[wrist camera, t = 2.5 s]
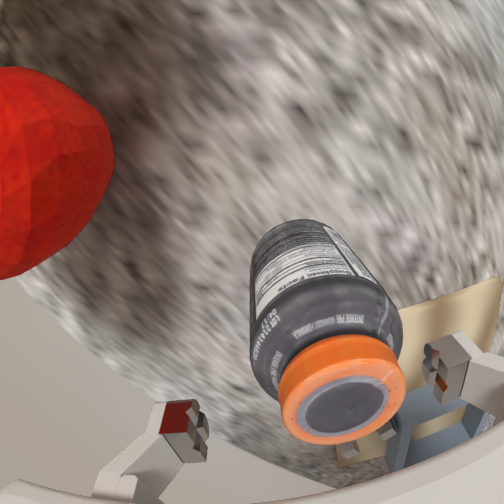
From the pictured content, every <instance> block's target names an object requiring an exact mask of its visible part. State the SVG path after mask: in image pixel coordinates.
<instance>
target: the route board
mask: <svg viewBox="0 0 504 504" xmlns="http://www.w3.org/2000/svg"><path fill="white" fill-rule="evenodd" d="M502 288H503V282H502V281H501V280H500V279H498V278H497V277H494V278H492V279H489V280H486V281H484V282H481V283H478V284H476V285H473V286H470V287H467V288H465V289H462V290H459V291H456V292H453V293H450V294H447V295H444V296H441V297H438V298H435V299H432V300H429V301H426V302H423V303H420V304H416V305H413V306H410V307H406V308H403V309H400V310H398V312H399V315H400V318H401V321H402V326H403V344H402V349H401V353H400V356H399V359H398V361H397V362H398V365H399V367H400V369H401V370H402V372H403V374H404V376H405V379H406V393H407V392H410V391H412V390H415V389H418V388H421V387H424V386H426V385H428V384H427V383H426V381H425V379H424V377H423V372H422V362H423V360H424V359H425V357H426V355H425V354H424V353H423V352H424V346H425V344H426V343H429V342H431V341H434V340H436V339H439V338H441V337H444V336H446V335H449V334H451V333H453V332H456V331H458V330H462V331H463V332H464V333H465V334H466V335H467V336H468V337H469V338H470V339H471V340H472V341H473V342H474V343H475V344H476V346H477V347H478V348H479V349H480V350H481V351H482V352H483V353H486V352H488V353H490V349H491V345H492V341H493V336H494V332H495V327H496V322H497V317H498V312H499V307H500V301H501V294H502ZM466 407H467V405H465V406H463V407H461V408H458V409H456V410H454V411H452V412H449V413H447V414H445V415H442V416H440V417H437V418H435V419H432V420H430V421H427V422H425V423H422V424H419V425H417V426H414V427H413V430H412V435H411V439H410V442H412V441H415V440H418V439H421V438H423V437H426V436H428V435H431V434H433V433H436V432H438V431H441V430H443V429H445V428H448V427H450V426H452V425H454V424H457V423H459V422H461V420H462V418H463V415H464V412H465V409H466ZM356 440H357V444H358V447H359V451H360V454H358V455H356V456H354V457H351V458H349V459H347V458H345V457H344V456H342V455H341V451H340V447H339V444H335V446H336V456H337V463H338V468H339V467H343V466H347V465H351V464H355V463H359V462H363V461H366V460H370V459H373V458H377V457H380V456H383V455H385V451H386V444H387V440H385V441H384V440H383V439H382V438H381V437H380V436H379V433H378V430H375V431H374V432H372V433H370V434H368V435H366V436H364V437H361V438H359V439H356Z"/></svg>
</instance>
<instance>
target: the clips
mask: <svg viewBox="0 0 504 504" xmlns="http://www.w3.org/2000/svg"><path fill="white" fill-rule="evenodd" d="M377 430H378V433H379V436H380V437H381V438H382V439H383V440H384V441H385V440H387V439H389V438H391V437H392V436H394V435H396V434H397V431H396V428H395V426H394V423H393V421H392V418H391V419H390V420H389V421H387V422H386V423H385V424H384V425H383V426H381V427H380V428H378V429H377ZM339 447H340V451H341V455H342V456H344V457H345V458H347V459H349V458H351V457H354V456H356V455H358V454H360V451H359V447H358V444H357V440H353V441H350V442H346V443H341V444H339Z"/></svg>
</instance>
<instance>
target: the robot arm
mask: <svg viewBox="0 0 504 504" xmlns="http://www.w3.org/2000/svg"><path fill="white" fill-rule="evenodd" d="M423 353H424V354H425V355H426V357H425V359H424V360H423V362H422V372H423V377H424V379H425V381H426V383H427V384H428V385H429V386H431V387H434V391H433V394H434V396H435V397H436V399H437V400H438V402H439V404H440V405H442V404H445V403H447V402H450V401H452V400H454V399H457V398H459V397H460V398H461V399H463V400H465V401H466V402H468V403H470V404H472V405H474V406H476V407H478V408H480V409H482V410H483V411H485V412H487V413H489V414H491V415H493V416H495V417H496V418H495V420H494V423H493V425H492V427H491V428H489V429H488V430H486V431H484V432H482V433H480V434H479V435H477V436H475V437H473V438H471V439H469V440H467V441H465V442H463V443H461V444H459V445H457V446H455V447H453V448H451V449H449V450H447V451H445V452H443V453H441V454H438V455H436V456H434V457H431V458H429V459H427V460H424V461H422V462H419V463H417V464H414V465H412V466H409V467H407V468H404V469H401V470H399V471H396V472H393V473H390V474H387V475H384V476H381V477H378V478H375V479H372V480H368V481H365V482H362V483H358V484H355V485H351V486H347V487H343V488H339V489H335V490H332V491H327V492H323V493H318V494H314V495H309V496H303V497H297V498H291V499H286V500H278V501H271V502H262V503H253V504H504V357H502V356H498V355H495V354H492V353H488V352H486V353H483V352H482V351H481V350H480V349H479V348H478V347H477V346H476V344H475V343H474V342H473V341H472V340H471V339H470V338H469V337H468V336H467V335H466V334H465V333H464V332H463V331H462V330H458V331H456V332H453V333H451V334H449V335H446V336H444V337H441V338H439V339H436V340H434V341H431V342H429V343H426V344H425V346H424V352H423ZM199 410H200V405H199V403H198V401H197V400H196V399H188V400H176V401H165V402H156V403H155V404H154V405H153V408H152V411H151V414H150V418H149V421H148V424H147V428H146V431H145V435H141V436H139V437H138V438H137V439H136V440H135V441H134V442H133V443H132V444H130V445H129V446H128V447H127V448H126V449H125V450H124V451H123V452H122V453H120V454H119V455H118V456H117V457H116V458H115V459H114V460H112V461H111V462H110V463H109V464H108V465H106V466H105V467H104V468H103V469H102V470H101V471H100V472H99V475H98V477H97V481H96V484H95V486H94V489H93V492H92V495H91V497H87V496H82V495H77V494H72V493H68V492H63V491H59V490H55V489H51V488H47V487H44V486H40V485H37V484H34V483H30V482H27V481H24V480H14V481H12V482H10V483H8V484H7V485H5V486H3V487H2V488H0V504H164V503H163V502H162V501H161V500H160V499H159V498H158V497H159V496H160V495H161V494H162V492H163V491H164V490H165V488H166V487H167V486H168V485H169V483H170V482H171V481H172V480H173V478H174V477H175V476H176V474H177V473H178V472H179V470H180V469H181V468H182V466H183V465H184V464H183V463H196V462H206V459H207V449H208V447H207V445H206V444H205V441H206V440H207V439H208V438H209V426H208V421H207V418H206V416H205V414H204V413H202V412H200V411H199Z"/></svg>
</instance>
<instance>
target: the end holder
mask: <svg viewBox="0 0 504 504" xmlns="http://www.w3.org/2000/svg"><path fill="white" fill-rule="evenodd" d="M433 391H434V387H431V386H429V385H426V386H424V387H421V388H418V389H415V390H412V391H410V392H407V393H406V394H405V398H404V400H403V402H402V405H401V406H400V408H399V409H398V411H397V412H396V413H395V414H394V416H393V417H392V421H393V423H394V426H395V428H396V431H397V434H396V435H394V436H392V437H391V438H389V439H387V444H386V451H385V457H386V460H387V463H388V466H389V469H390V472H391V473H393V472H396V471H399V470H401V469H404V468H407V467H409V466H412V465H414V464H417V463H419V462H422V461H424V460H427V459H429V458H431V457H434V456H436V455H438V454H441V453H443V452H445V451H447V450H449V449H451V448H453V447H455V446H457V445H459V444H461V443H463V442H465V441H467V440H469V439H471V438H473V437H475V436H477V435H479V434H480V433H481V432H482V430H483V428H484V426H485V424H486V422H487V420H488V417H489V415H490V414H489V413H487V412H485V411H483V410H482V409H480V408H478V407H476V406H474V405H472V404H470V403H468V402H466V401H465V400H463V399H461V398H460V397H459V398H457V399H454V400H452V401H450V402H447V403H445V404H442V405H440V404H439V402H438V400H437V399H436V397H435V396H434V394H433ZM465 405H467V407H466V409H465V412H464V415H463V418H462V420H461V422H459V423H457V424H454V425H452V426H450V427H448V428H445V429H443V430H441V431H438V432H436V433H433V434H431V435H428V436H426V437H423V438H421V439H418V440H415V441H412V442H410V439H411V435H412V430H413V427H414V426H417V425H419V424H422V423H425V422H427V421H430V420H432V419H435V418H437V417H440V416H442V415H445V414H447V413H449V412H452V411H454V410H456V409H458V408H461V407H463V406H465Z"/></svg>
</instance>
